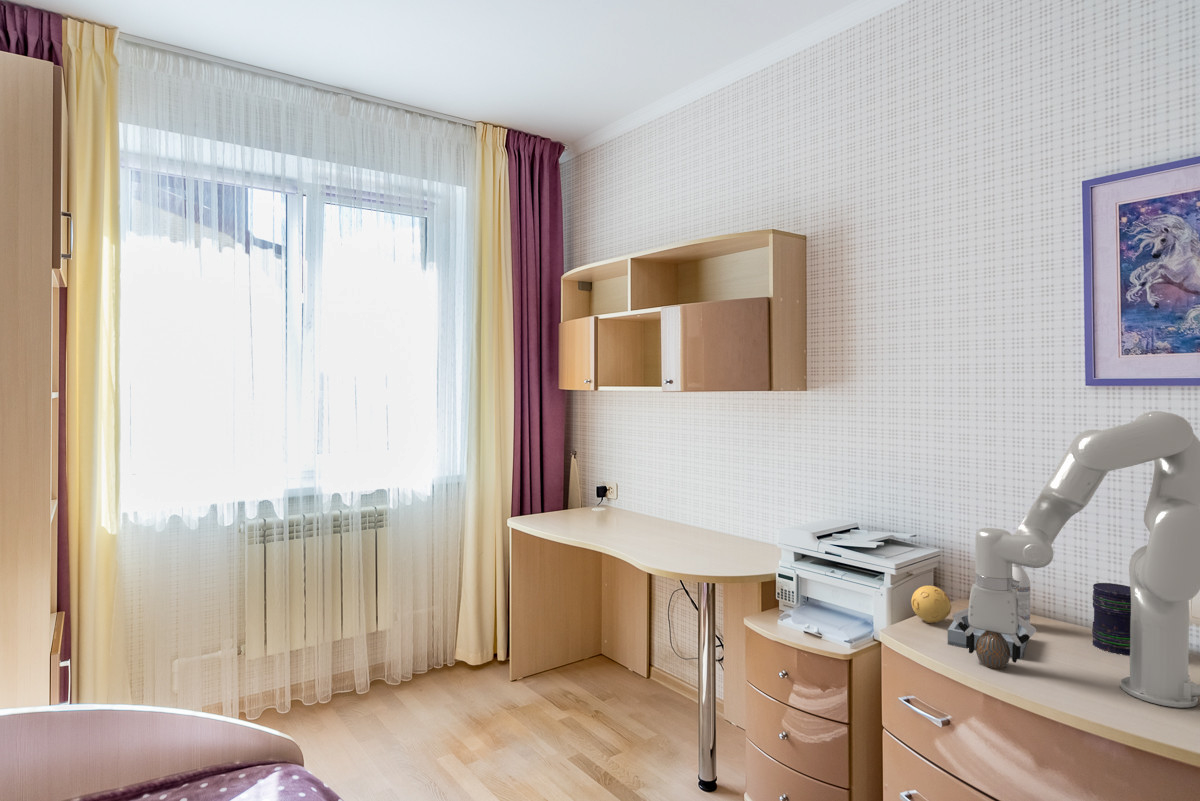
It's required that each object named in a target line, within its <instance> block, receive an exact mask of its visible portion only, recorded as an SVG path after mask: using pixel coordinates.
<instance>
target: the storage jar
mask: <svg viewBox="0 0 1200 801" xmlns="http://www.w3.org/2000/svg"><path fill="white" fill-rule="evenodd" d="M1092 589H1093V591H1092V607H1093V622H1092V629H1091V634H1092V643H1093V644H1092V646H1094V647H1095V648H1096V647H1097V648H1096V649H1098V648H1099V649H1098V650H1101V651H1103V650H1104V652H1106V651H1108V652H1107V653H1110V652H1111V653H1110V654H1114V653H1116V654H1115V655H1120V654H1122V655H1121V656H1130V622H1131V589H1130V585H1125V584H1119V583H1112V582H1111V583H1110V582H1096V583H1093V585H1092Z"/></svg>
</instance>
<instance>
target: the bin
mask: <svg viewBox="0 0 1200 801" xmlns="http://www.w3.org/2000/svg"><path fill="white" fill-rule="evenodd" d="M961 618H962V620H963V622H964V623H965V624H966V625H967V626H968V627H969V626H970V625H969V623H968V615H966V616H964V617H961ZM985 631H986V630H981V629H975V630H974V631H973V633H974V635H975V636H974V651H976V643H977V640H978V638H979V637H980V636H981V635H982V634H983V633H984V632H985ZM1026 632H1027V630H1026V629H1025V628H1023V627H1022V626H1021V625H1019V629H1017V633H1018V634H1019V635H1020V636H1022V635H1023V634H1025V633H1026ZM1001 634H1002V633H1001ZM1002 636H1003V637H1004V638H1005V640H1006V641H1007V643H1008V645H1009V648H1010V658H1012V645H1013V643H1014V641H1013V640H1012V639H1011V637H1010V636H1009V635H1007V634H1002ZM1028 642H1029V640H1028V641H1026V642H1024V643H1023V644H1021V656H1020V659H1018V658H1017V660H1021V661H1022V660H1023V657H1024V653H1025V650H1026V648H1027V645H1028ZM949 644H950V646H954V645H955V646H954V647H960V648H963V647H964V649H967V648H966V635H965V633H964V632H963V631H962V630H961V628H960V627H959V626H958V624H957V623H956V621H955V619H954V618H953V620H952V623H951V624H950V625H949V626H948V628H947V645H949Z"/></svg>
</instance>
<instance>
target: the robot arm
mask: <svg viewBox="0 0 1200 801" xmlns="http://www.w3.org/2000/svg"><path fill="white" fill-rule="evenodd" d="M1152 461H1153V464H1154V471H1153V477H1152V483H1151V488H1150V492H1149V495H1148V496H1149V497H1148V501H1147V504H1146V507H1145V509H1144V510H1145V511H1144V513H1143V522H1144V525H1145V528H1147V530H1148V531H1149V536H1148V541H1147V545H1142V546H1141V547H1139V548H1138V549H1136V550H1135V551H1134V553H1132V555H1131V557H1130V559H1129V566H1128V574H1129V576H1128V577H1129V586H1130V589H1131V622H1130V655H1129V676H1127V677H1124V678H1121V680H1120V687H1121V689H1122V690H1123V691H1124V692H1125V693H1127V694H1129V695H1131V696H1132V697H1134V698H1137V699H1139V700H1142V701H1145V702H1149V703H1152V704H1155V705H1160V706H1164V707H1170V708H1179V709H1180V708H1181V709H1184V708H1187V709H1188V708H1192V707H1195V706H1197V705H1198V704H1199V697H1200V684H1199V683H1195V682H1194V681H1192V680H1191V678H1190V674H1189V652H1190V649H1189V648H1190V645H1189V644H1190V603H1189V601H1190V600H1192V599H1194V597H1196V596H1197V595H1198V593H1199V592H1200V440H1199V438H1198V437H1197V436H1196V434H1195V433H1194V430H1193V427H1192V425H1191V423H1190V422H1189V421H1188V420H1187V419H1186V418H1184V417H1182V416H1181V415H1178V414H1177V413H1176V414H1175V413H1173V412H1165V411H1162V410H1161V411H1160V410H1159V411H1158V410H1157V411H1156V410H1154V411H1153V410H1152V411H1147V412H1144V413H1143V414H1140V415H1139V416H1137V417H1136V419H1135V420H1134V421H1132V422H1127V423H1125V424H1121V425H1118V426H1114V427H1110V428H1105V429H1102V430H1101V429H1100V430H1099V429H1088V430H1085V431H1082V432H1080V433H1079V434H1078V435H1076V436H1075V438H1074V439H1073V440H1072V442H1071V443H1070V445H1069V447H1068V449H1067V450H1066V452H1065V453H1064V455H1063V456H1062V458H1061V460H1060V461H1059V463H1058V465H1057V466H1056V468H1055V470H1053V473H1052V475H1051V476H1050V478H1049V479H1048V480H1047V482H1046V484H1045V485H1044V487H1043V489H1042V490H1041V491H1040V493H1039V495H1038V496H1037V498H1036V499H1035V501H1034V503H1033V504H1032V506H1031V507H1030V508H1029V510H1028V511H1027V513H1026V515H1025V516H1024V518H1023V519H1022V521H1021V522H1020V525H1019V526H1018V527H1017V530H1015V533H1014V534H1012V533H1011V532H1010V531H1008V530H1005V529H1001V528H994V527H984V528H979V529H978V530H976V533H975V554H974V555H975V560H974V561H975V564H974V565H975V566H974V568H975V570H974V571H975V574H974V575H975V576H974V579H975V580H974V581H975V582H974V583H972V585H971V588H970V595H969V601H968V607H967V608H964V609H961V610H959V611H956V612H954V613H953V614H952V618H953V620H954V619H955V621H956V623H957V624H958V626H959V627H960V628H961V630H962V631H963V632H964V633H965V635H966V648H965V649H968V648H969V649H968V653H969V654H973V653H974V651H975V650H974V636H975V635H974V633H973V631H974V630H975V629H981V630H986V631H991V632H996V633H1002V634H1007V635H1009V636H1010V637H1011V639H1012V640H1013V641H1014V643H1013V645H1012V659H1011V661H1012V662H1013V663H1015V664H1016V663H1017V660H1021V659H1020V656H1021V644H1023V643H1024V642H1026V641H1028V642H1029V640H1030V639H1031V637H1033V636H1034V634H1035V633H1036V631H1037V628H1036V627H1034V626H1033V625H1032V624H1031V623H1030V624H1029V623H1028V622H1026V621H1025V620H1024V619H1022V618H1021V617H1019V604H1018V597H1017V592H1016V590H1015V589H1012V588H1014V587H1020V581H1016V580H1014V578H1013V576H1012V568H1013V564H1017V565H1021V566H1022V567H1025V568H1030V569H1031V568H1032V569H1041V568H1044V567H1046V566H1048V565H1050V564H1051V562H1052V561H1053V559H1054V554H1055V553H1054V548H1053V546H1052V544H1054V541H1055V539H1056V538H1057V536H1058V535H1059V534H1060V532H1061V530H1062V529H1063V528H1064V526H1065V524H1066V523H1067V522H1068V521H1069V520H1070V519H1071V518H1072V517H1073V516H1075V515H1076V514H1078V513H1079V512H1080V511H1082V510H1084V508H1086V507H1087V505H1088V504H1089V502H1090V501H1091V500H1092V498H1093V496H1094V495H1095V493H1096V491H1097V490H1098V488H1099V487H1100V485H1101V484H1102V482H1103V480H1104V478H1106V476H1107V475H1108V473H1109V472H1112V471H1116V470H1117V471H1118V470H1121V469H1124V468H1130V467H1133V466H1136V465H1140V464H1144V463H1147V462H1148V463H1149V462H1152ZM966 615H968V623H969V625H970V626H969V627H968V626H967V625H966V624H965V623H964V622H963V620H962V618H961V617H964V616H966ZM1019 625H1021V626H1022V627H1023V628H1025V629H1026V630H1027V632H1026V633H1025V634H1023V635H1022V636H1020V635H1019V634H1018V633H1017V629H1019ZM1017 658H1018V659H1017Z"/></svg>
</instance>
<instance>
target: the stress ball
mask: <svg viewBox="0 0 1200 801" xmlns="http://www.w3.org/2000/svg"><path fill="white" fill-rule="evenodd" d="M911 596H912V597H911V607H912V610H913V612H914V613H915V615H916V616H917V617H919V618H920V619H921V620H923V621H924V622H925V623H927V624H932V623H934V624H937V623H940V622H942V621H944V620H945V619H946V618H947V617H948V616H950V613H951V610H952V604H951V599H950V598H949V597H950V596H948V595H947V594H946V592H945V591H944V590H942V589H941V588H939V587H937V586H934V585H922V586H920V587H919V588H917V589H916V590H915V591H914V592H913V593H912V595H911Z"/></svg>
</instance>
